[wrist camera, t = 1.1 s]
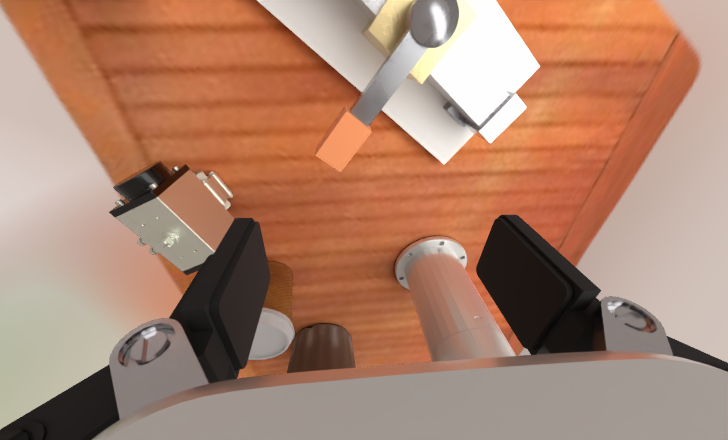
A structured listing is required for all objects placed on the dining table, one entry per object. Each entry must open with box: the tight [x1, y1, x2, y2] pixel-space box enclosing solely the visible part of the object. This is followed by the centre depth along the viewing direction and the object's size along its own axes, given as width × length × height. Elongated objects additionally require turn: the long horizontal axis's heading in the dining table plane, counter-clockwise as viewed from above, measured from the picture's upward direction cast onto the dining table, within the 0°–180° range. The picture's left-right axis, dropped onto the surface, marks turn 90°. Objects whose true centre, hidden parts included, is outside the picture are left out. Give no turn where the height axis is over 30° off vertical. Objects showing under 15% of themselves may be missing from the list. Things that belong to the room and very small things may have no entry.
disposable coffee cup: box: [248, 261, 295, 360], centre depth 38 cm, size 10×10×12 cm
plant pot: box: [287, 324, 356, 373], centre depth 49 cm, size 16×16×16 cm
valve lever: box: [315, 0, 459, 172], centre depth 20 cm, size 14×3×2 cm, turn 141°
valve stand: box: [257, 0, 540, 165], centre depth 22 cm, size 28×14×8 cm, turn 51°
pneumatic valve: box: [109, 161, 234, 275], centre depth 28 cm, size 6×12×12 cm, turn 23°
